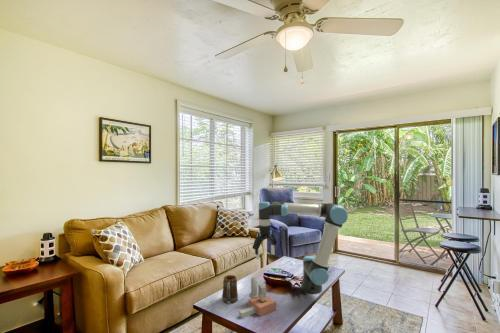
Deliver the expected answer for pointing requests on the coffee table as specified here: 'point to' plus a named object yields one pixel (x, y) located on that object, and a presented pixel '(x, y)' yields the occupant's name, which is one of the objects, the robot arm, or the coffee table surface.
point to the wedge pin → (262, 293)
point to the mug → (230, 289)
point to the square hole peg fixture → (257, 303)
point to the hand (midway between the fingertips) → (265, 256)
